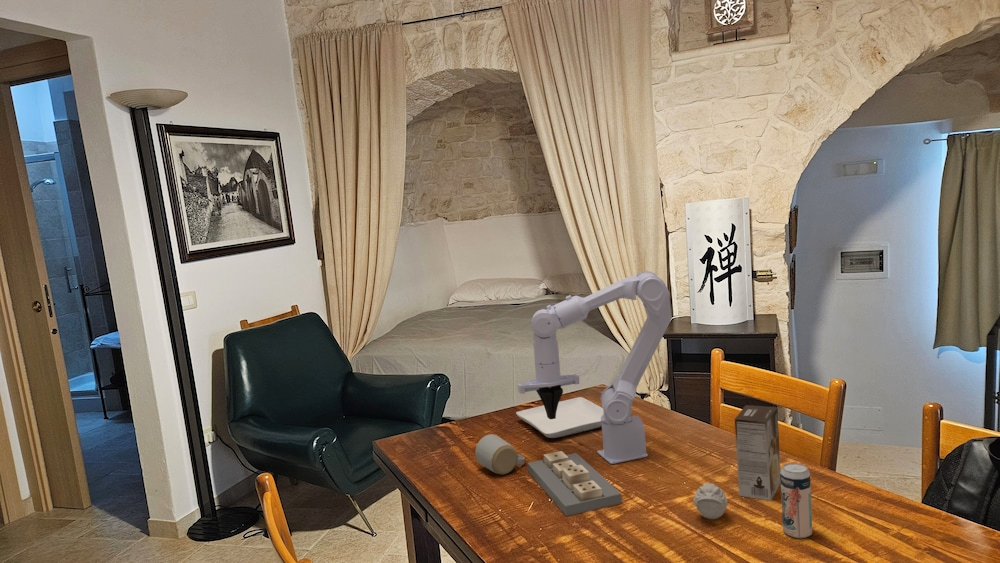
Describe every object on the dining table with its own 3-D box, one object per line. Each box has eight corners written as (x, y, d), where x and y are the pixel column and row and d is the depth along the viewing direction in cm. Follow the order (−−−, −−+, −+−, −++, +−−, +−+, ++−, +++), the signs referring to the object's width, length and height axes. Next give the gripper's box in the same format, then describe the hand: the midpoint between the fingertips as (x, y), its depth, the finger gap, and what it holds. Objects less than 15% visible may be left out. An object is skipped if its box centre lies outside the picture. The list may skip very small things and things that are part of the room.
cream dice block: (572, 473, 151) (571, 459, 151) (579, 481, 147) (578, 466, 147) (553, 477, 150) (552, 463, 150) (560, 485, 146) (559, 470, 146)
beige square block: (594, 495, 140) (592, 479, 139) (602, 503, 136) (601, 488, 135) (574, 499, 139) (572, 484, 138) (582, 508, 135) (581, 492, 134)
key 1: (562, 464, 157) (561, 450, 157) (569, 471, 153) (568, 456, 153) (544, 467, 156) (543, 454, 156) (551, 474, 152) (550, 460, 151)
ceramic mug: (494, 480, 153) (491, 447, 152) (476, 469, 160) (473, 438, 159) (532, 467, 158) (530, 435, 157) (513, 457, 165) (511, 427, 164)
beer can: (777, 528, 121) (774, 464, 119) (803, 524, 121) (800, 460, 120) (791, 541, 116) (788, 475, 115) (818, 538, 116) (815, 471, 115)
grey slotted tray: (576, 461, 159) (576, 452, 159) (622, 503, 136) (621, 493, 136) (528, 471, 156) (527, 462, 156) (566, 516, 133) (565, 506, 133)
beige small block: (582, 478, 146) (581, 464, 145) (590, 486, 141) (589, 471, 141) (563, 483, 144) (561, 468, 144) (570, 491, 140) (569, 475, 140)
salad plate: (547, 445, 171) (546, 432, 171) (515, 422, 191) (514, 410, 191) (620, 428, 179) (619, 415, 178) (582, 407, 198) (581, 396, 198)
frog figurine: (693, 526, 124) (690, 490, 124) (696, 508, 131) (693, 474, 130) (728, 528, 122) (726, 492, 121) (729, 510, 129) (727, 475, 128)
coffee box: (749, 477, 142) (745, 403, 140) (781, 482, 138) (778, 406, 136) (738, 496, 134) (733, 418, 132) (772, 501, 131) (768, 421, 129)
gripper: (569, 353, 163) (573, 407, 165) (512, 362, 160) (516, 417, 161) (581, 359, 157) (585, 416, 158) (521, 369, 153) (526, 427, 155)
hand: (551, 417), depth 159 cm, fingers closed
